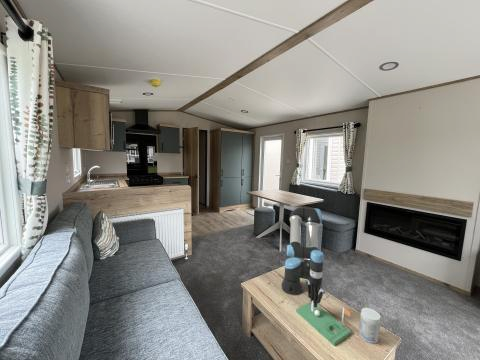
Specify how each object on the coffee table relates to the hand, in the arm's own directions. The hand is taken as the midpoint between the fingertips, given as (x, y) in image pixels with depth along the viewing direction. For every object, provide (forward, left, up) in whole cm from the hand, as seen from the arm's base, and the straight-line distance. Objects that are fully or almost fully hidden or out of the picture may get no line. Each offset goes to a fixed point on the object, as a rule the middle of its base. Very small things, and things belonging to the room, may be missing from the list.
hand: (313, 310), depth 134 cm
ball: (+3, 0, 0) cm, 3 cm away
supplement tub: (+26, +15, -4) cm, 31 cm away
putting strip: (+6, 0, -4) cm, 7 cm away
